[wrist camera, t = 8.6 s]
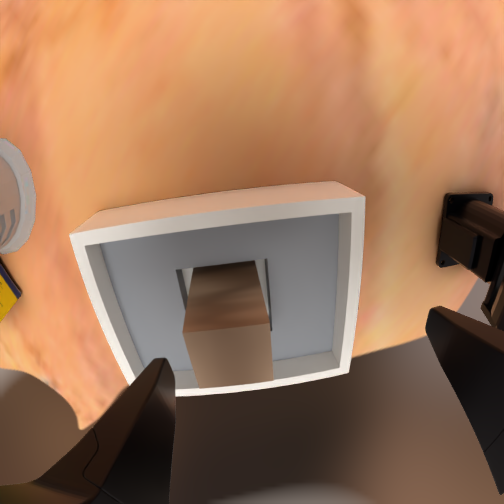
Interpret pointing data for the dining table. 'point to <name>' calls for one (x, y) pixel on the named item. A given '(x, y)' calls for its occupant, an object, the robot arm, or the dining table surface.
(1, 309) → the supplement box
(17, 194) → the french press
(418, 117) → the dining table surface
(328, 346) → the socket plate
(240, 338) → the peg
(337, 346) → the tray
